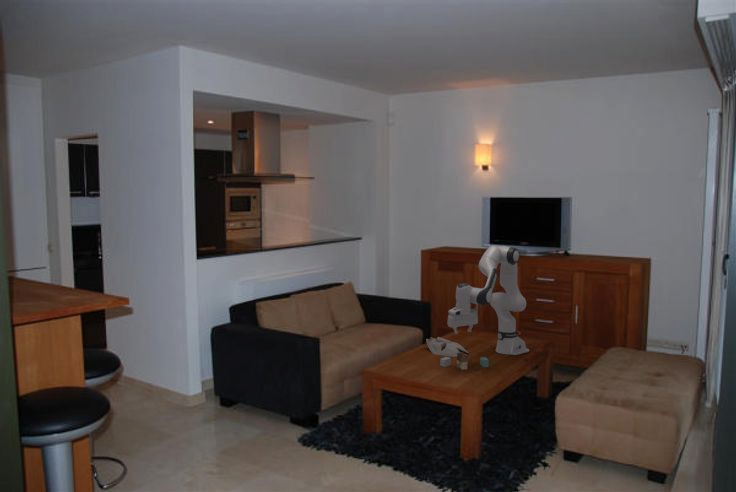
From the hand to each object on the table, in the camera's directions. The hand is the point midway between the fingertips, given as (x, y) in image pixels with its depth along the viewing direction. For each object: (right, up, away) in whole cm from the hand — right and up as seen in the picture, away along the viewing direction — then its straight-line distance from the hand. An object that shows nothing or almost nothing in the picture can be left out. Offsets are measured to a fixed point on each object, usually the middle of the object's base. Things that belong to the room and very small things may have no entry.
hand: (462, 332), depth 371 cm
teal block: (+14, -21, +5) cm, 26 cm away
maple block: (0, -21, +1) cm, 21 cm away
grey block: (-10, -21, +6) cm, 24 cm away
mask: (-6, -18, +36) cm, 41 cm away
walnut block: (0, -17, 0) cm, 17 cm away
